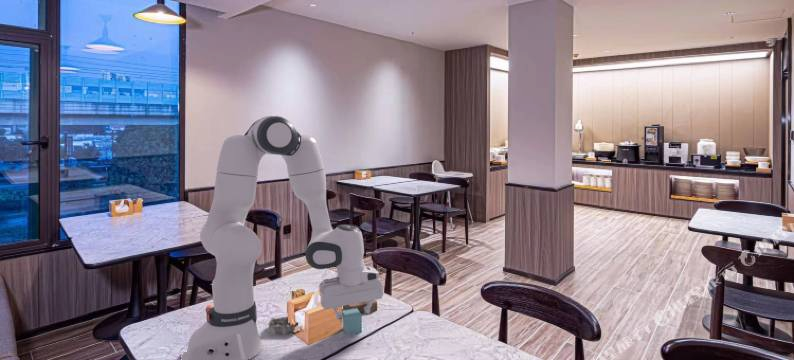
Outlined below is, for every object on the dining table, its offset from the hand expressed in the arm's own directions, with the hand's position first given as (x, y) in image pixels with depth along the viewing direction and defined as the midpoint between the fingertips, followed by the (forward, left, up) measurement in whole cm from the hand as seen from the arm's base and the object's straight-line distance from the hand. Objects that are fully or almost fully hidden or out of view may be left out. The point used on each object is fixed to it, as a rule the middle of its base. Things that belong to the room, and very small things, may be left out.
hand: (353, 315), depth 142 cm
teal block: (-1, -1, -5) cm, 5 cm away
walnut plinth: (+6, +15, -4) cm, 17 cm away
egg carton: (-21, +8, -5) cm, 23 cm away
